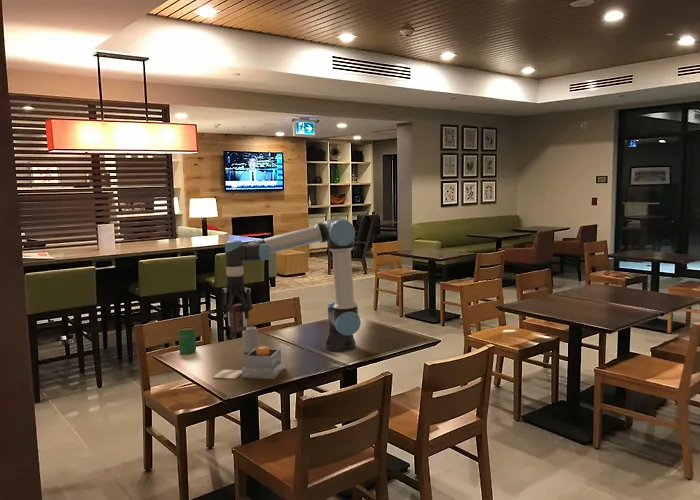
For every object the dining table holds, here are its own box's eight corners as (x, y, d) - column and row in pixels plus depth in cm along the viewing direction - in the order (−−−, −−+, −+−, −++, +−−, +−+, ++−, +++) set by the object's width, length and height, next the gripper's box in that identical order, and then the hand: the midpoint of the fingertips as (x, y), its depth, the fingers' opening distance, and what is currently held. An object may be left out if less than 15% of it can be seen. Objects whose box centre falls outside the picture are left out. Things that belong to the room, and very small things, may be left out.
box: (240, 328, 258) (238, 303, 256) (246, 330, 255) (245, 304, 253) (229, 331, 253) (228, 305, 252) (235, 333, 250) (234, 306, 249)
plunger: (271, 354, 245) (271, 346, 245) (267, 358, 240) (266, 350, 240) (259, 353, 247) (258, 345, 246) (254, 357, 241) (254, 349, 241)
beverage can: (199, 350, 279) (198, 327, 277) (188, 355, 272) (187, 331, 270) (187, 349, 282) (185, 325, 281) (175, 353, 275) (174, 329, 274)
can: (255, 354, 271) (254, 329, 270) (241, 353, 273) (239, 329, 271) (261, 349, 279) (260, 326, 277) (246, 349, 280) (245, 325, 279)
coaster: (244, 371, 246) (244, 370, 246) (235, 379, 236) (235, 378, 236) (222, 370, 248) (222, 369, 248) (212, 378, 238) (212, 377, 238)
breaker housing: (284, 368, 250) (283, 348, 249) (273, 379, 236) (273, 358, 235) (254, 366, 252) (253, 347, 251) (242, 377, 239) (241, 356, 238)
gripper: (258, 273, 253) (261, 324, 256) (218, 273, 257) (221, 323, 259) (252, 276, 245) (255, 328, 248) (211, 276, 249) (214, 327, 252)
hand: (237, 325), depth 254 cm, fingers closed on box, 6 cm apart
